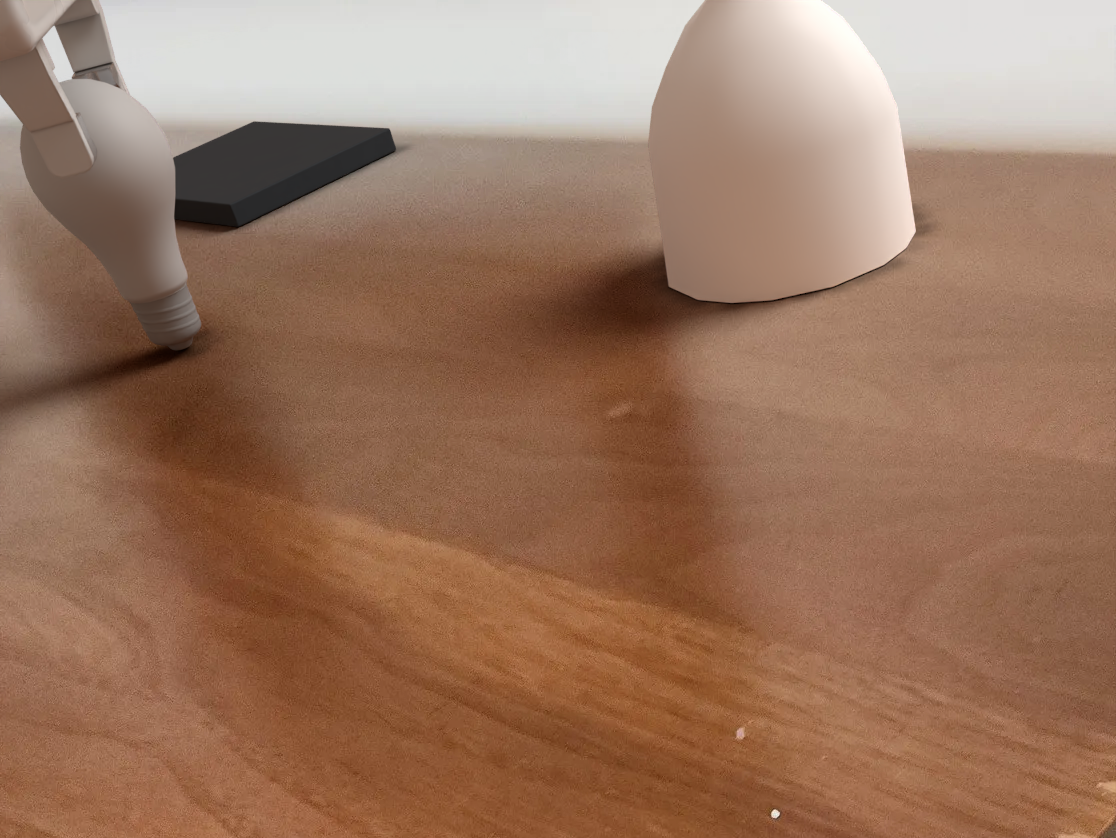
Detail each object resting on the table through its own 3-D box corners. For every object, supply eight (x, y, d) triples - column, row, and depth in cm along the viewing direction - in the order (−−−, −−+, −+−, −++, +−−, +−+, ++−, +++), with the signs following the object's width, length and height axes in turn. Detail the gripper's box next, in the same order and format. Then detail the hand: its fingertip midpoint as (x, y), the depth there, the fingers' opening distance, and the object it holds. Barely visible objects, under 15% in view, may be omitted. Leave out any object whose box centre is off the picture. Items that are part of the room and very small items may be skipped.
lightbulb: (126, 389, 65) (-7, 117, 57) (113, 350, 69) (-13, 91, 61) (256, 345, 66) (142, 72, 58) (235, 309, 70) (126, 49, 62)
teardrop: (859, 182, 67) (823, -140, 58) (958, 247, 59) (933, -114, 50) (635, 251, 66) (565, -67, 57) (706, 326, 58) (636, -28, 49)
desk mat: (108, 211, 88) (98, 190, 87) (261, 141, 93) (254, 120, 92) (238, 227, 80) (229, 204, 79) (397, 150, 86) (390, 127, 85)
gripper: (-108, -278, 59) (67, 101, 69) (-279, -244, 44) (-26, 230, 54) (39, -318, 59) (194, 67, 69) (-83, -297, 44) (135, 188, 54)
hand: (96, 140), depth 61 cm, fingers open, 8 cm apart
